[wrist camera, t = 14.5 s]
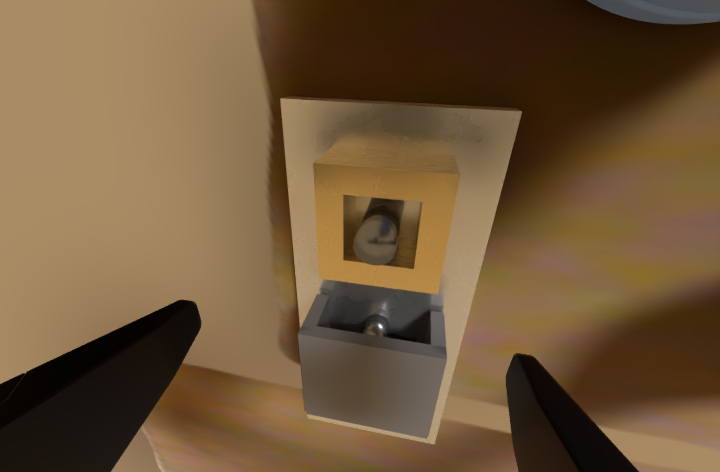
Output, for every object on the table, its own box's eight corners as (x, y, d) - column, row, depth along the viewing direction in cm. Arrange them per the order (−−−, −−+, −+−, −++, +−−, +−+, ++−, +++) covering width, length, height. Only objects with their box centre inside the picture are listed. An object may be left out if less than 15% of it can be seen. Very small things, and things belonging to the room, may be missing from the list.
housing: (444, 312, 19) (447, 359, 16) (426, 393, 23) (426, 443, 20) (317, 293, 20) (297, 334, 17) (320, 373, 24) (305, 418, 21)
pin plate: (515, 107, 15) (558, 130, 10) (434, 430, 27) (435, 509, 22) (289, 96, 16) (230, 110, 11) (312, 405, 29) (288, 473, 24)
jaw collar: (454, 155, 15) (460, 174, 12) (436, 260, 18) (438, 294, 15) (331, 146, 16) (312, 162, 13) (333, 248, 19) (318, 278, 16)
